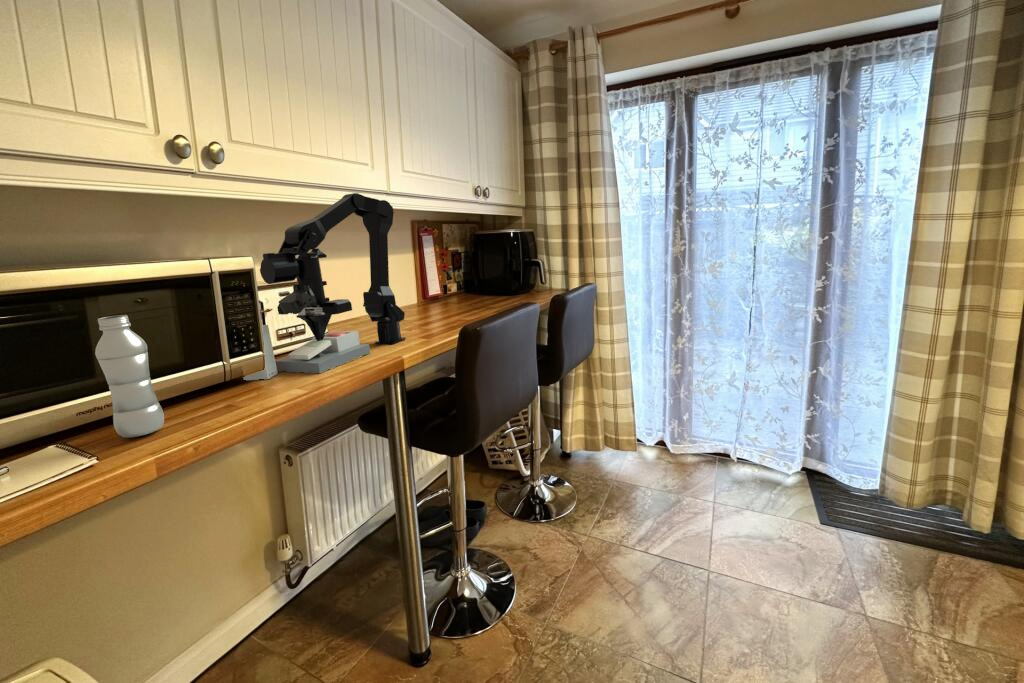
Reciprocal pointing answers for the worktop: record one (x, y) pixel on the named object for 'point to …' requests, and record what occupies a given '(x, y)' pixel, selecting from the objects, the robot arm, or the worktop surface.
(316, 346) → the rocker switch
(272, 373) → the grey tapered stand
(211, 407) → the worktop surface
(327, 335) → the breaker button
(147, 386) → the plastic bottle
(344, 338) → the grey switch base
